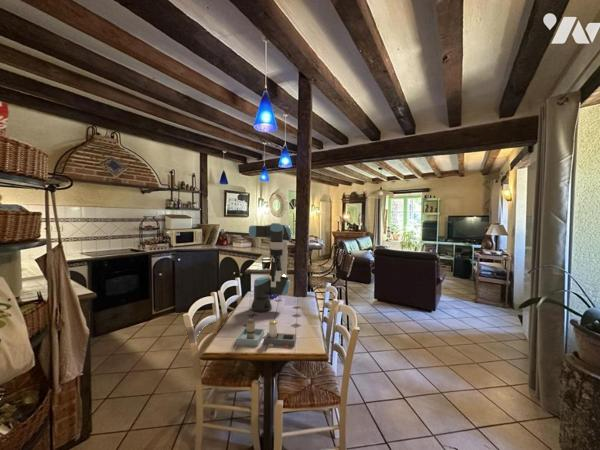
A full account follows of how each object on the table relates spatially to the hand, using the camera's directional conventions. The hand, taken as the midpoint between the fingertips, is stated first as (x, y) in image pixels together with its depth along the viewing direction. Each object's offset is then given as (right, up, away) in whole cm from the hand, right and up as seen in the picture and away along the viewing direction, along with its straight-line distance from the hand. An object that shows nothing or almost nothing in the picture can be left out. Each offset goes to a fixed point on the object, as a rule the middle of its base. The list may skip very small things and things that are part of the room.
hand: (275, 284), depth 154 cm
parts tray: (-13, -28, -12) cm, 33 cm away
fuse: (0, -27, -14) cm, 31 cm away
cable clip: (-8, -27, +65) cm, 71 cm away
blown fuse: (-13, -28, -12) cm, 33 cm away
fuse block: (+4, -29, -14) cm, 32 cm away
